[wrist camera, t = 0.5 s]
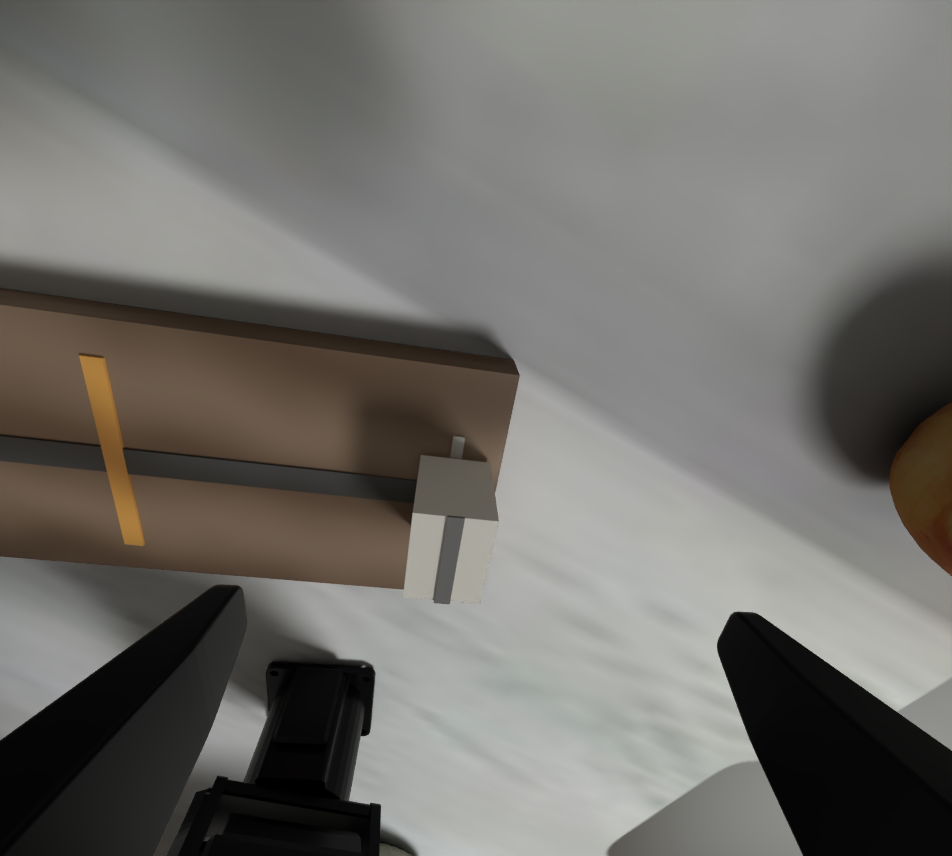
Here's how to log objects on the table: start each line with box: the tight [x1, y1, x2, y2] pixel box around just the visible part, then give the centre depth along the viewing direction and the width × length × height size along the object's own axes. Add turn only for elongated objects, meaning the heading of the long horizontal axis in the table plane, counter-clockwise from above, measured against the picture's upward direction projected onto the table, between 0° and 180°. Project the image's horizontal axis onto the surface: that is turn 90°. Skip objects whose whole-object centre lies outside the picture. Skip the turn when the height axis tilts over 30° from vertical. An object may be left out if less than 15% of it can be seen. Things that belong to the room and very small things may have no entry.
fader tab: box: [403, 455, 499, 604], centre depth 18 cm, size 4×3×4 cm
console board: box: [0, 288, 520, 589], centre depth 19 cm, size 12×32×2 cm, turn 81°
